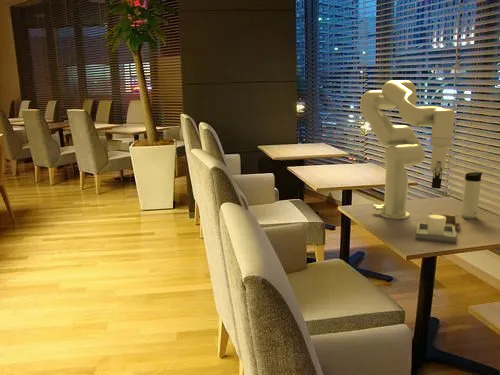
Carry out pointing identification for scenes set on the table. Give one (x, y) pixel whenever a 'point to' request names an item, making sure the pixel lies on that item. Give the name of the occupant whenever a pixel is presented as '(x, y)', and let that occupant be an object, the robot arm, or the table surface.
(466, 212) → the travel mug
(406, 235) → the table surface
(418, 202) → the table surface
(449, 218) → the walnut holder
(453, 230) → the serving tray
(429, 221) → the white piece
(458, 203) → the table surface
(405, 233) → the table surface
